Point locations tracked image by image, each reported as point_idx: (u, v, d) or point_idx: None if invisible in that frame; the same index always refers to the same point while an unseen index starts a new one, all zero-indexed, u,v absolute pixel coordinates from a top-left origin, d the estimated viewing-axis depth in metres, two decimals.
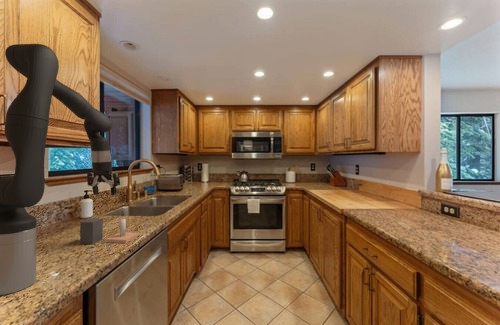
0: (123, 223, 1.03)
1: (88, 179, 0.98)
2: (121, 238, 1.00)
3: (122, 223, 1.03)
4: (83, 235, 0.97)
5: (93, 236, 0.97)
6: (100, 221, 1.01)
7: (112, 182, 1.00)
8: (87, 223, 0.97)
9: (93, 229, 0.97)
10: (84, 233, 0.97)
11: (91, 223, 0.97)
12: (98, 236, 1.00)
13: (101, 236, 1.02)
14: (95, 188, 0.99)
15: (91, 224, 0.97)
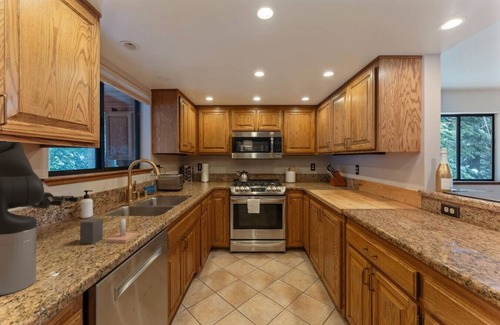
0: (123, 223, 1.03)
1: (41, 200, 0.94)
2: (121, 238, 1.00)
3: (122, 223, 1.03)
4: (83, 235, 0.97)
5: (93, 236, 0.97)
6: (100, 221, 1.01)
7: (65, 200, 1.04)
8: (87, 223, 0.97)
9: (93, 229, 0.97)
10: (84, 233, 0.97)
11: (91, 223, 0.97)
12: (98, 236, 1.00)
13: (101, 236, 1.02)
14: None
15: (91, 224, 0.97)
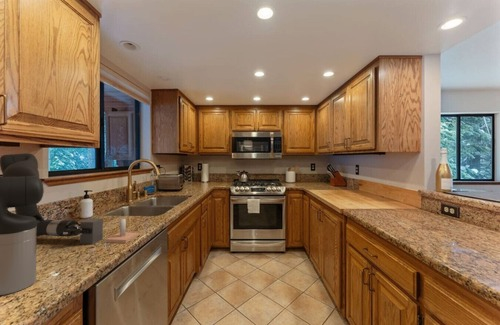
0: (123, 223, 1.03)
1: (70, 229, 0.94)
2: (121, 238, 1.00)
3: (122, 223, 1.03)
4: (83, 235, 0.97)
5: (93, 236, 0.97)
6: (100, 221, 1.01)
7: None
8: (87, 223, 0.97)
9: (93, 229, 0.97)
10: None
11: (91, 223, 0.97)
12: (98, 236, 1.00)
13: (101, 236, 1.02)
14: None
15: (91, 224, 0.97)
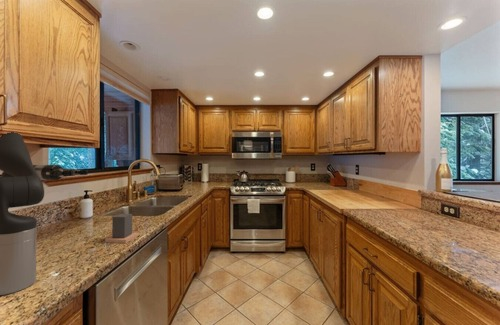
0: None
1: (52, 170, 0.96)
2: (121, 238, 1.00)
3: None
4: (115, 229, 1.01)
5: (125, 230, 1.01)
6: (130, 216, 1.05)
7: (75, 173, 1.07)
8: (119, 218, 1.01)
9: (125, 224, 1.01)
10: (116, 227, 1.01)
11: (123, 218, 1.01)
12: (129, 230, 1.04)
13: (131, 230, 1.06)
14: None
15: (123, 219, 1.01)
